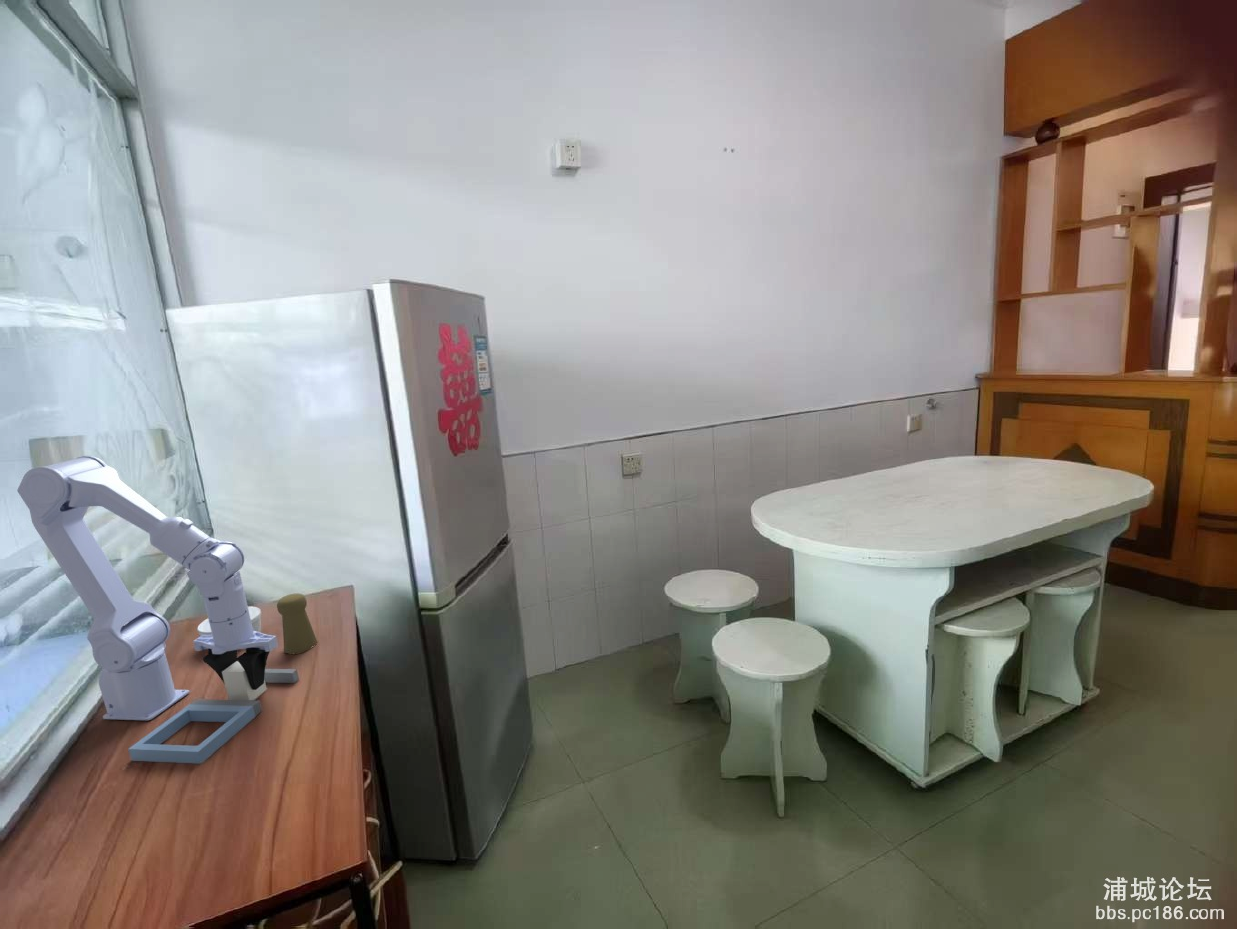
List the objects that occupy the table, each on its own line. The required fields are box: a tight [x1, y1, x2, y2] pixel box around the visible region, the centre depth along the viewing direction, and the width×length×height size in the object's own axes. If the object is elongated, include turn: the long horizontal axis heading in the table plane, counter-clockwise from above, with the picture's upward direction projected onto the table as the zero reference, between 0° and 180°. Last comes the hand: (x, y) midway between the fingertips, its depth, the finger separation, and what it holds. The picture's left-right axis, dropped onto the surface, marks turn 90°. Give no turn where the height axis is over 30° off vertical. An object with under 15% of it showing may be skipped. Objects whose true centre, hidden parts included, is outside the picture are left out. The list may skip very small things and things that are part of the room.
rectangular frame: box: [128, 668, 300, 764], centre depth 97 cm, size 12×21×2 cm, turn 171°
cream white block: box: [222, 661, 268, 700], centre depth 102 cm, size 4×4×6 cm
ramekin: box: [196, 606, 262, 636], centre depth 122 cm, size 11×11×5 cm
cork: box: [276, 593, 318, 655], centre depth 117 cm, size 6×6×11 cm
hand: (246, 686), depth 102 cm, fingers open, 4 cm apart
